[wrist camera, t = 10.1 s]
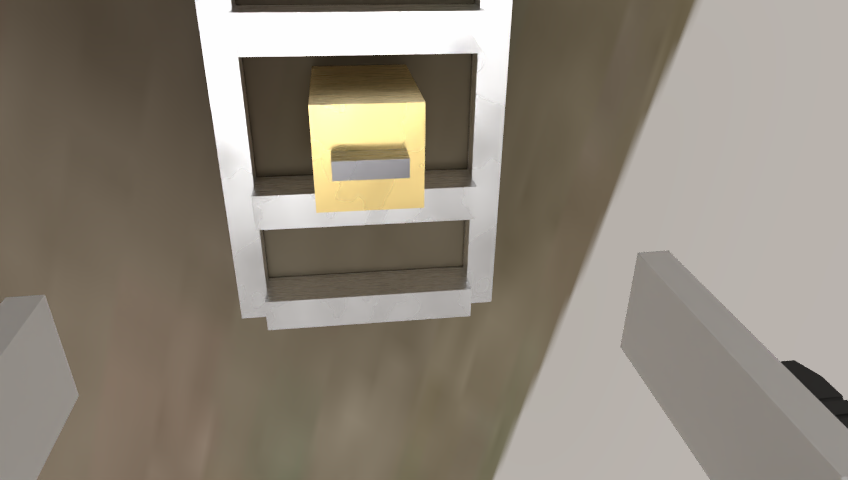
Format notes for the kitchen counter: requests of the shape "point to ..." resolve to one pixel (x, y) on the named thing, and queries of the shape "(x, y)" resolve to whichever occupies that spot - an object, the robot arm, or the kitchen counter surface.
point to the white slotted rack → (295, 195)
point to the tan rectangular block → (366, 138)
